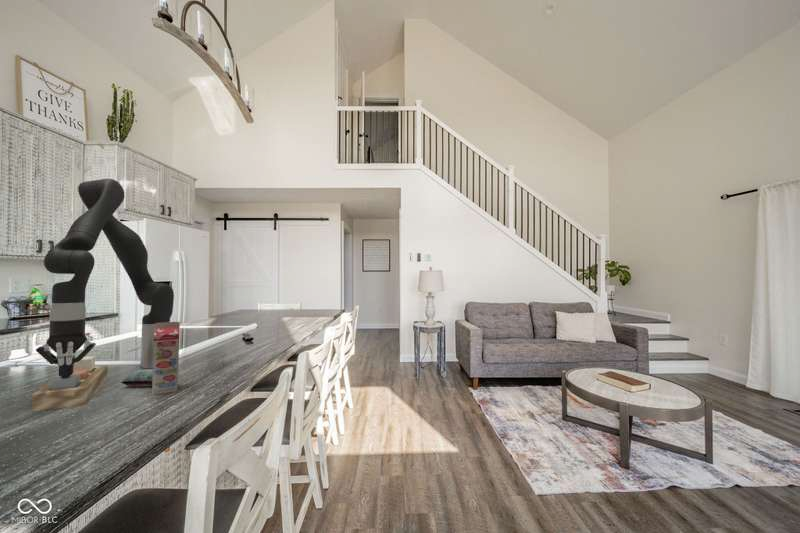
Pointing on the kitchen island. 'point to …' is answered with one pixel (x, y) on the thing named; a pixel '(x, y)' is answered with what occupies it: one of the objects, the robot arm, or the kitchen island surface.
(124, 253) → the robot arm
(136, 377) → the packaged food
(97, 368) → the light brown rectangular frame
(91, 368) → the white square block
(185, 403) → the kitchen island surface
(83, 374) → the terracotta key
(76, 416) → the kitchen island surface
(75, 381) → the slate key
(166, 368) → the juice carton
